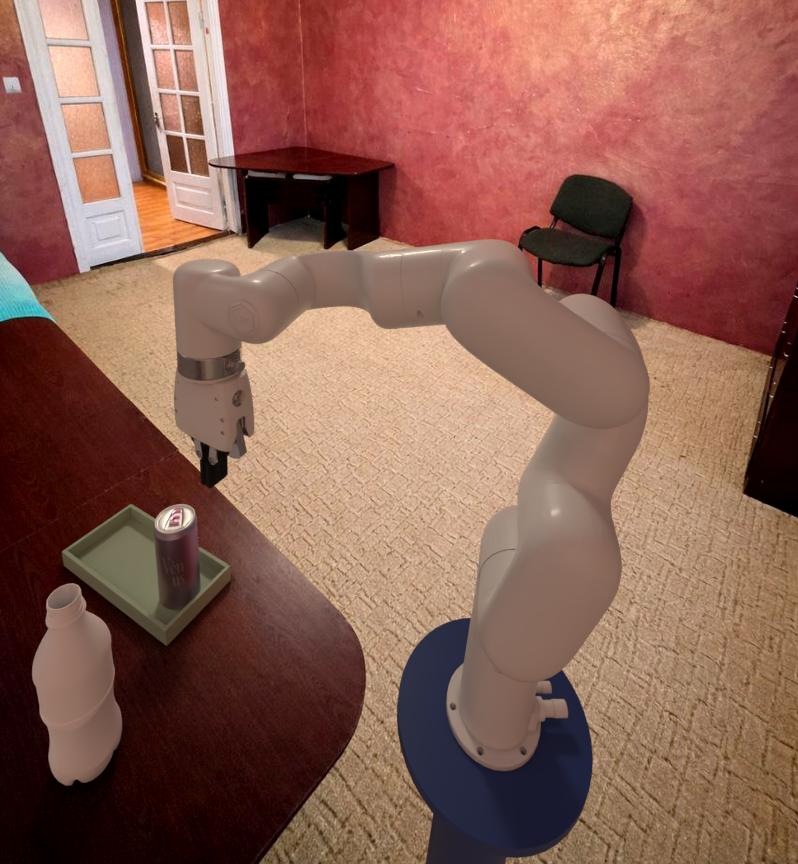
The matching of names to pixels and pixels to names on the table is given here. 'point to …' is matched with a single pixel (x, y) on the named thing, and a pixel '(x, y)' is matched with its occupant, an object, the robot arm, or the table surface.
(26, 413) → the table surface
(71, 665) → the water bottle
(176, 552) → the beverage can
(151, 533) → the tray
